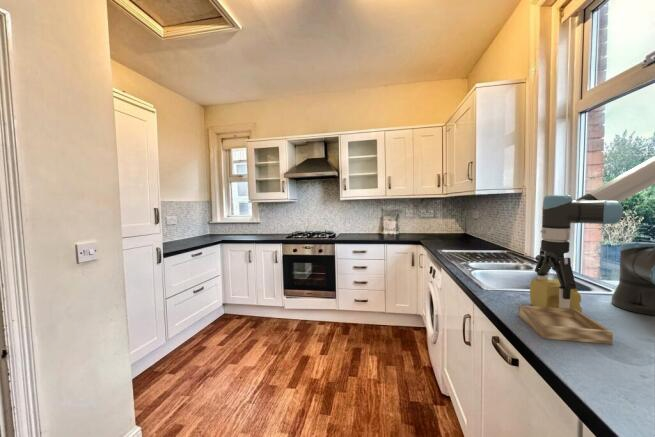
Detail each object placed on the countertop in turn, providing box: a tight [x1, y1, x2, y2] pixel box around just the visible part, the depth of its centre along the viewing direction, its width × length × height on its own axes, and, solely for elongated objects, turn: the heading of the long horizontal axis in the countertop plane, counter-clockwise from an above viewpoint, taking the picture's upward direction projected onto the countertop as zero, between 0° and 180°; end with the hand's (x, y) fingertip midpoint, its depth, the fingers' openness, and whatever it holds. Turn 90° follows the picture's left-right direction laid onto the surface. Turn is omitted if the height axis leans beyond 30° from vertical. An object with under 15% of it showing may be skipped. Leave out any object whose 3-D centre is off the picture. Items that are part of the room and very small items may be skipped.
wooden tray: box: [518, 305, 614, 345], centre depth 83 cm, size 16×16×3 cm
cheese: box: [529, 278, 583, 313], centre depth 96 cm, size 10×11×10 cm
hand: (552, 300), depth 96 cm, fingers open, 13 cm apart
